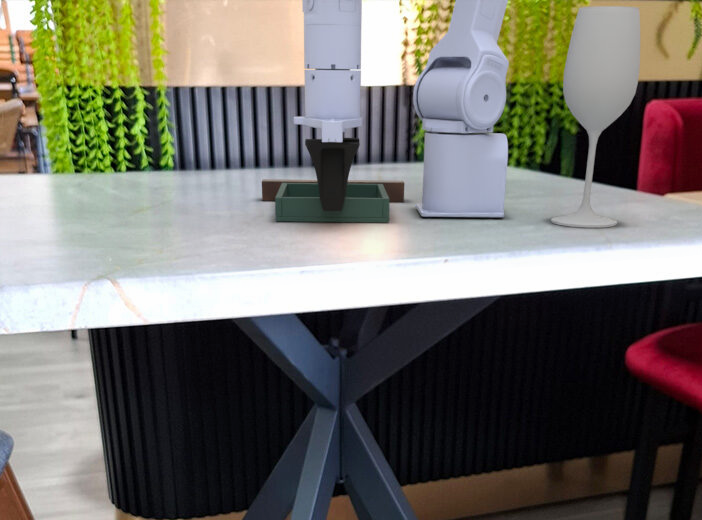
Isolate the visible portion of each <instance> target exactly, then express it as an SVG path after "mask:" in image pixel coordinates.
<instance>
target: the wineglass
mask: <svg viewBox="0 0 702 520" xmlns="http://www.w3.org/2000/svg"><path fill="white" fill-rule="evenodd" d="M640 16H641V15H640V7H635V6H620V5H619V6H613V5H612V6H610V5H607V6H605V5H603V6H584V7H579V8H578V12H577V14H576V17H575V21H574V26H573V28H572V33H571V37H570V41H569V46H568V50H567V54H566V60H565V65H564V70H563V82H562V92H563V97H564V101H565V104H566V106H567V107H568V110H569V111H570V113H571V115H572V116H573V117H574V118H575V119H576V120H577V122H578V123H579V124H580V125H581V126H582V127H583V128H584V129H585V130H586V133H587V135H588V153H587V161H586V169H585V170H586V171H585V172H586V173H585V178H584V179H585V180H584V187H583V188H584V189H583V196H582V200H581V204H580V206H578V209H577V210H576V211H574V212H572V213H569V214H564V215H559V216H554V217H551V218H550V222H551V223H552V224H555V225H559V226H565V227H572V228H588V229H589V228H591V229H592V228H593V229H594V228H596V229H597V228H600V229H601V228H610V227H615V226H617V225H618V220H615V219H613V218H608V217H605V216H602V215H599V214H597V213H595V212H594V211H593V208H592V205H591V193H592V185H593V175H594V166H595V159H596V150H597V144H598V140H599V137H600V136H601V134H602V132H603V131H604V130H606V129H607V128H608V127H609V126H610V125H611V124H613V123H614V122H616V120H618V118H620V116H622V114H623V113H624V112H625V111H626V110H627V109H628V108H629V106H630V105H631V104H632V101H633V99H634V97H635V96H636V93H637V87H638V84H639V78H640V69H641V68H640V65H641V18H640Z"/></svg>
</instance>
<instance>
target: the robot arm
mask: <svg viewBox="0 0 702 520" xmlns="http://www.w3.org/2000/svg"><path fill="white" fill-rule="evenodd" d="M301 1H302V13H303V63H304V64H303V65H304V66H303V69H304V70H303V71H304V116H294V117H293V125H303V126H304V127H309V128H315V129H320V132H321V138H305V140H304V145H305V147H306V149H307V152H308V154H309V156H310V159H311V161H312V164H313V168H314V172H315V176H316V180H317V182H318V188H319V195H320V201H321V205H322V209H323V211H342V209H343V206H344V201H345V196H346V189H347V182H348V180H349V174H350V172H351V169H352V164H353V162H354V159H355V156H356V154H357V152H358V149H359V148H360V146H361V144H360V138H358V137H343V133H345V132H346V131H347V129H353V128H360V127H362V126H363V117H361V93H362V92H361V91H362V90H361V86H362V20H363V19H362V14H363V12H362V10H363V7H362V5H363V0H301ZM508 1H509V0H455V2H454V6H453V9H452V10H453V11H452V14H451V18H450V21H449V26H448V30H447V32H446V33H445V34H444V36H443V37H442V38H441V39H440V40H439V41H438V42H437V43H436V44H435V45H434V46H433V47H432V48H431V50H430V51H429V54H428V58H427V62H426V64H425V67H424V69H423V70H422V72H420V74H419V76H418V77H417V79H416V81H415V84H414V87H413V93H412V94H413V95H412V102H413V108H414V111H415V113H416V115H417V117H418V118H419V119H420V121H421V122H422V124H421V126H422V127H421V130H423V131H425V132H424V144H423V145H424V147H423V171H422V173H423V175H422V195H421V196H422V197H421V203H416V204H415V208H416V210H417V211H418V213H419V215H420V217H424V218H504V217H505V199H506V188H507V187H506V186H507V174H508V161H509V143H508V137H507V134H505V133H497V132H496V133H495V132H494V125H495V124H496V123H497V122H498V121H499V120H500V118H501V117H502V114H503V113H504V110H505V106H506V102H507V85H506V83H507V82H506V81H507V74H508V69H509V66H510V62H509V60H508V58H507V56H506V55H505V53H504V52H503V51H502V49H501V48H500V46H499V45H498V40H499V36H500V32H501V28H502V25H503V21H504V17H505V13H506V10H507V6H508V3H509V2H508Z"/></svg>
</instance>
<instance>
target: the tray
mask: <svg viewBox="0 0 702 520" xmlns="http://www.w3.org/2000/svg"><path fill="white" fill-rule="evenodd" d="M274 206H275V212H274V213H275V222H287V223H288V222H291V223H292V222H293V223H295V222H297V223H298V222H299V223H301V222H302V223H303V222H304V223H386V224H387V223H389V222H390V202H389V197H388V195H387V193H386V190H385V188H384V186H383V184H347V189H346V196H345V201H344V206H343V209H342V211H323V209H322V205H321V201H320V195H319V188H318V183H282V184H281V186H280V189H279V191H278V193H277V195H276V197H275V201H274Z"/></svg>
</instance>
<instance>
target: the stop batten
mask: <svg viewBox="0 0 702 520" xmlns="http://www.w3.org/2000/svg"><path fill="white" fill-rule="evenodd" d="M282 183H318V182H317V179H290V178H289V179H279V178H278V179H275V178H274V179H273V178H266V179H265V178H263V179H262V180H261V200H262V202H275V197H276V195H277V193H278V191H279V189H280V186H281V184H282ZM347 184H383V186H384V188H385V190H386V193H387V195H388V197H389V203H404V202H405V181H404V180H388V179H387V180H386V179H385V180H384V179H383V180H382V179H380V180H379V179H377V180H374V179H371V180H370V179H348V182H347Z"/></svg>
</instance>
